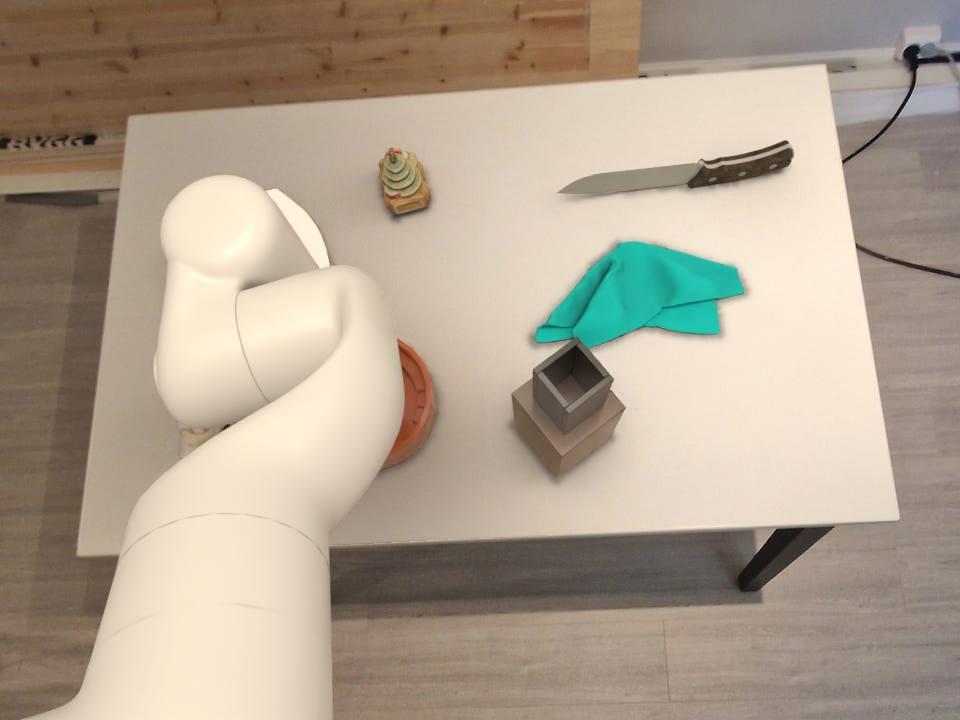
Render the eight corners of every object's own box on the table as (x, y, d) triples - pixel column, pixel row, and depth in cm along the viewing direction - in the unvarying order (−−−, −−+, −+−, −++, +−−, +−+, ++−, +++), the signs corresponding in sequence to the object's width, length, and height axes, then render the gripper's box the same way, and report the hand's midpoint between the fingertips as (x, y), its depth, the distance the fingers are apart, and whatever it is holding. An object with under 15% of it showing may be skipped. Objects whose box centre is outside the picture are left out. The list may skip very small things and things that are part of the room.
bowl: (462, 418, 84) (457, 407, 79) (357, 496, 82) (345, 490, 77) (390, 324, 88) (381, 307, 83) (289, 396, 86) (273, 384, 81)
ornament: (375, 174, 95) (358, 128, 86) (418, 159, 95) (406, 112, 86) (392, 223, 93) (376, 181, 83) (437, 208, 93) (426, 164, 83)
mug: (174, 472, 85) (131, 415, 78) (219, 412, 91) (183, 356, 84) (224, 481, 82) (184, 423, 75) (267, 419, 88) (234, 361, 82)
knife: (798, 135, 87) (559, 161, 85) (804, 152, 86) (563, 179, 85) (778, 163, 93) (553, 188, 91) (783, 179, 92) (557, 205, 90)
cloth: (731, 232, 89) (736, 223, 87) (753, 334, 84) (759, 327, 82) (525, 254, 90) (524, 246, 88) (536, 356, 86) (536, 350, 83)
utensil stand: (611, 436, 82) (639, 381, 60) (557, 478, 81) (566, 438, 59) (567, 384, 84) (579, 313, 62) (514, 424, 83) (507, 366, 61)
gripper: (188, 252, 56) (270, 332, 73) (293, 406, 51) (354, 452, 69) (268, 199, 57) (330, 290, 74) (377, 346, 52) (416, 406, 70)
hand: (341, 367), depth 71 cm, fingers closed
